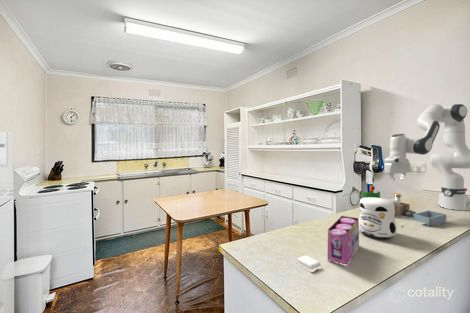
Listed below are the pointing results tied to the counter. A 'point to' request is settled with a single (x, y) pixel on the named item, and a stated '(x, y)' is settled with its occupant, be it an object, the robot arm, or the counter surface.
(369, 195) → the motor
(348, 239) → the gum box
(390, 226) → the milk container
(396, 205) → the bracket
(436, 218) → the tray
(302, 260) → the soap
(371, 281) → the counter surface
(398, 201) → the pin
